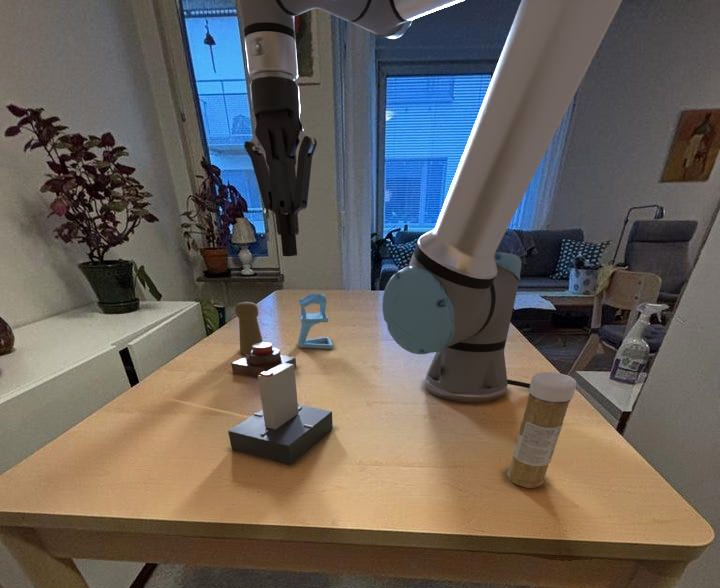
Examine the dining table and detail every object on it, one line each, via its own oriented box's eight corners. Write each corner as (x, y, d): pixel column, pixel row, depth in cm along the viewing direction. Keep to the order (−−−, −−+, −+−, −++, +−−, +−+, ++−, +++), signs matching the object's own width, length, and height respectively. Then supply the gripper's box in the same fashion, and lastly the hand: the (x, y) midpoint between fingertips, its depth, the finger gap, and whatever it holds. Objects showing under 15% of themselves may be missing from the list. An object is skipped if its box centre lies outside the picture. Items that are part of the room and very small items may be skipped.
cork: (259, 355, 93) (252, 305, 87) (235, 354, 94) (227, 304, 88) (269, 348, 98) (263, 300, 91) (246, 347, 99) (239, 299, 92)
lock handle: (288, 411, 60) (283, 360, 56) (298, 413, 59) (294, 362, 55) (265, 427, 55) (257, 373, 51) (275, 429, 55) (268, 375, 50)
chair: (297, 342, 103) (293, 291, 96) (329, 340, 104) (327, 290, 97) (299, 350, 96) (295, 297, 90) (333, 348, 98) (331, 296, 91)
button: (276, 352, 83) (275, 343, 82) (265, 357, 80) (264, 348, 79) (261, 349, 85) (260, 341, 84) (249, 354, 82) (248, 346, 81)
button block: (296, 367, 86) (294, 348, 84) (272, 380, 79) (270, 360, 77) (259, 361, 89) (256, 343, 87) (233, 373, 83) (229, 354, 80)
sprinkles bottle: (516, 466, 53) (542, 367, 46) (549, 479, 51) (584, 377, 43) (500, 479, 50) (525, 377, 43) (535, 494, 48) (569, 388, 40)
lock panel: (333, 428, 62) (332, 410, 60) (291, 465, 53) (289, 445, 51) (279, 416, 65) (277, 398, 64) (231, 449, 56) (227, 429, 55)
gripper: (224, 80, 60) (249, 256, 73) (297, 68, 56) (310, 258, 69) (254, 91, 66) (272, 253, 79) (322, 82, 62) (330, 255, 75)
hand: (290, 255), depth 74 cm, fingers closed
